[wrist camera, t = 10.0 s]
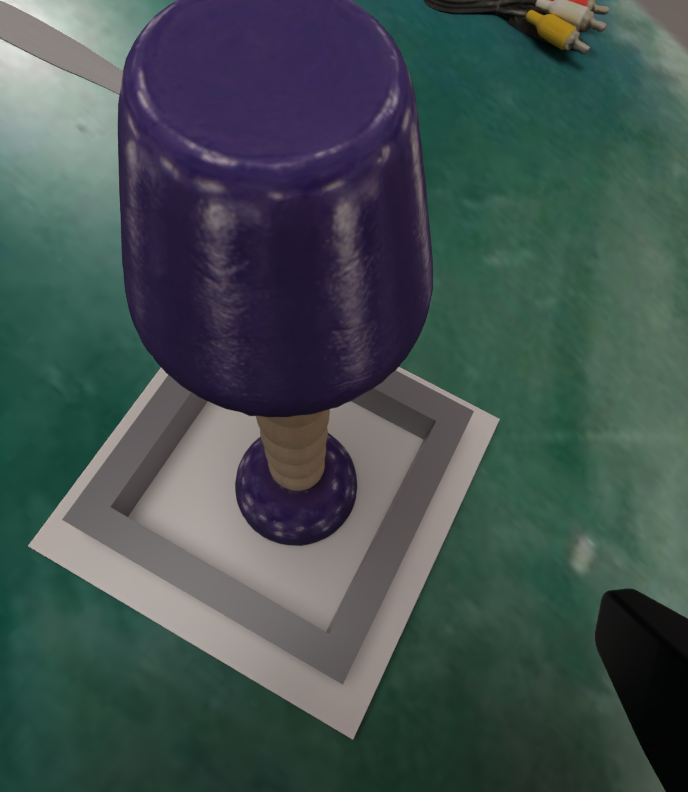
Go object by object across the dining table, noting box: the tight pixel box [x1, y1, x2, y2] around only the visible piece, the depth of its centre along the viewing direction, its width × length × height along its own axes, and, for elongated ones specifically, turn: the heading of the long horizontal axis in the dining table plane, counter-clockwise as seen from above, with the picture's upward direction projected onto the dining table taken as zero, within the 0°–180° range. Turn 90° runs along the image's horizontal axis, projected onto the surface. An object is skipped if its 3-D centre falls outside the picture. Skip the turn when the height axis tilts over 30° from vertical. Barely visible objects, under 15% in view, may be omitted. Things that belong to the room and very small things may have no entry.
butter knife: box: [0, 1, 123, 94], centre depth 29 cm, size 1×27×3 cm
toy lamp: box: [118, 0, 433, 546], centre depth 14 cm, size 5×5×17 cm
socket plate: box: [28, 367, 500, 740], centre depth 21 cm, size 12×12×3 cm
